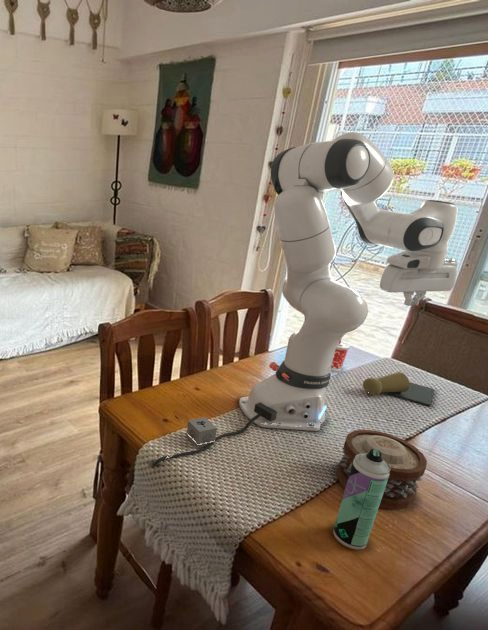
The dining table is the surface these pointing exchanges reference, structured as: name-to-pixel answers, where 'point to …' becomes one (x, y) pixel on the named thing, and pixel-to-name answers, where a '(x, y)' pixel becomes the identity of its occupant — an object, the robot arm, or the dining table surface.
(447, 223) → the robot arm
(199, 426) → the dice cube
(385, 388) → the olive tapered cylinder
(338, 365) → the beverage cup
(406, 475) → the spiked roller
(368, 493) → the spray can
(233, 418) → the dining table surface
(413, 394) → the plate
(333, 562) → the dining table surface
